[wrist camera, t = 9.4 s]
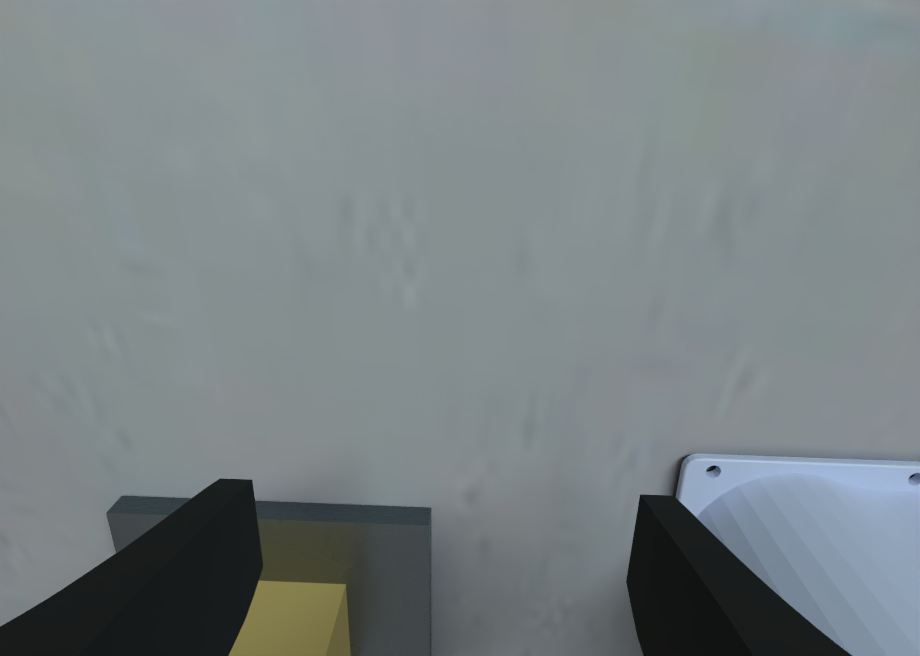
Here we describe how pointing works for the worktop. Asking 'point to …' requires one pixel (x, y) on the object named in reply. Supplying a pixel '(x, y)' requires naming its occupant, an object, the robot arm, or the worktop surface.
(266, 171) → the worktop surface
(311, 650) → the yellow square planter
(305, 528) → the grey square base plate
